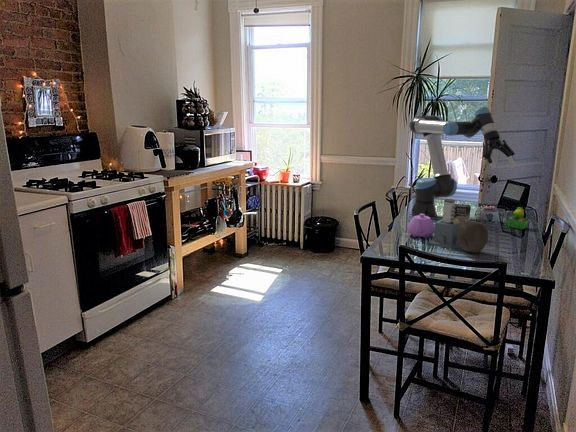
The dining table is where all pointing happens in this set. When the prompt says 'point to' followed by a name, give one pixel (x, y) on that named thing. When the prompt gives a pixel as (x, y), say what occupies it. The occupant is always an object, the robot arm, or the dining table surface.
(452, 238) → the stand base
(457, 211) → the coffee box
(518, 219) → the fruit basket
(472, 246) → the brown round ball
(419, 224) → the teapot
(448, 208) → the column
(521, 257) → the dining table surface
